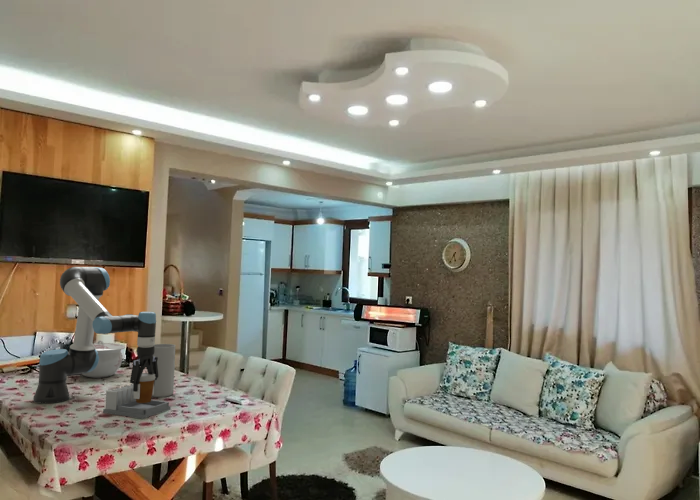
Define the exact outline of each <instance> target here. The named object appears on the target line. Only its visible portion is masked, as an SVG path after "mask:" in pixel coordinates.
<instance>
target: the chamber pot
mask: <svg viewBox="0 0 700 500" xmlns="http://www.w3.org/2000/svg"><path fill="white" fill-rule="evenodd" d="M93 345H94V346H95V350H97V352H98V356H99V361H98V365H97V367H96V368H95V369H94V370H93V371H91V372H87V373H84V374H82V375H83V376H84V377H87V378H92V379H94V378H95V379H98V378H99V379H100V378H108V377H110V376H113V375H115V373H116V374H117V372H118V370H119V369H120V368H121V365H122V361H123V353H122V350H124V349H125V348H126V346H125V345H123V344H119V343H111V342H103V340H98V341H97V342H95V343H93Z"/></svg>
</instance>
